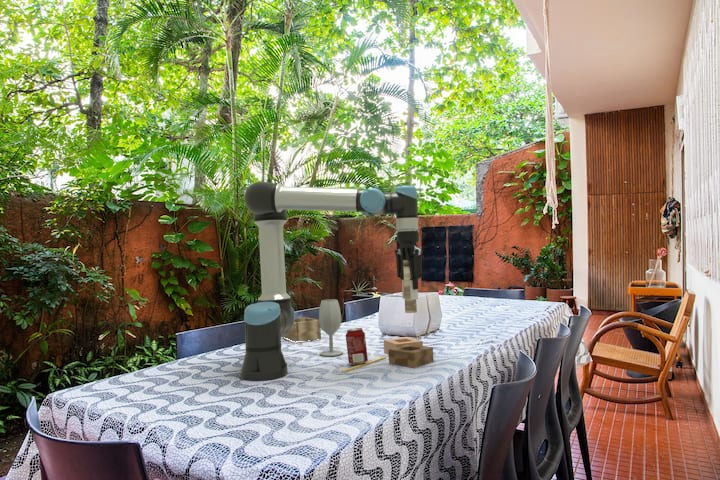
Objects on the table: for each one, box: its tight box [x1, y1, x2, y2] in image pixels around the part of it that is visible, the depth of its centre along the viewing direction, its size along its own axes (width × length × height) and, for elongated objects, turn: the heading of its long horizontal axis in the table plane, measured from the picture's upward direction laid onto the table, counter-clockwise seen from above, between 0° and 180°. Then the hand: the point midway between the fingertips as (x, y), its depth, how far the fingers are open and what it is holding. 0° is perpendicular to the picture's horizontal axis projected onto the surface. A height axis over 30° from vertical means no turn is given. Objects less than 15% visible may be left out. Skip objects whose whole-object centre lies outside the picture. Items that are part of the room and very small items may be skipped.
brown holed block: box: [388, 344, 434, 369], centre depth 175 cm, size 11×11×5 cm
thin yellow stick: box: [340, 356, 387, 373], centre depth 175 cm, size 24×1×1 cm, turn 142°
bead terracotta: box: [383, 336, 424, 356], centre depth 191 cm, size 11×11×5 cm
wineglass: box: [318, 299, 344, 357], centre depth 195 cm, size 9×9×21 cm
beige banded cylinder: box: [403, 260, 418, 314], centre depth 173 cm, size 4×4×18 cm
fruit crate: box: [282, 316, 322, 342], centre depth 230 cm, size 13×14×9 cm
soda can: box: [345, 327, 369, 366], centre depth 176 cm, size 7×7×12 cm
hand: (410, 298), depth 173 cm, fingers closed on beige banded cylinder, 4 cm apart
